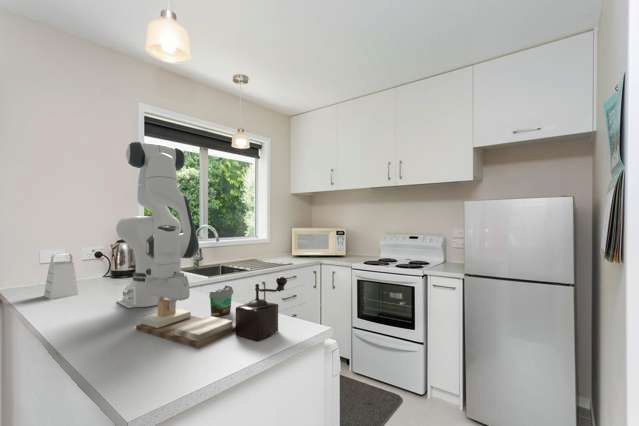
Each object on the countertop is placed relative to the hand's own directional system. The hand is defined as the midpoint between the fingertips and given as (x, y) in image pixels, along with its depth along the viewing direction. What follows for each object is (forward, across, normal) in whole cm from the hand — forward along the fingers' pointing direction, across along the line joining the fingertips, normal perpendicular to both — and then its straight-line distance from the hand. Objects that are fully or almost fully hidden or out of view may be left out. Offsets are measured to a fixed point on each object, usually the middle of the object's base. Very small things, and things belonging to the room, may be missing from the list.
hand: (166, 309), depth 108 cm
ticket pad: (+6, -10, 0) cm, 12 cm away
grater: (+6, +82, -1) cm, 82 cm away
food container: (+6, -9, -19) cm, 22 cm away
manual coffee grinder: (+6, -34, -12) cm, 36 cm away
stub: (+4, 0, 0) cm, 4 cm away
